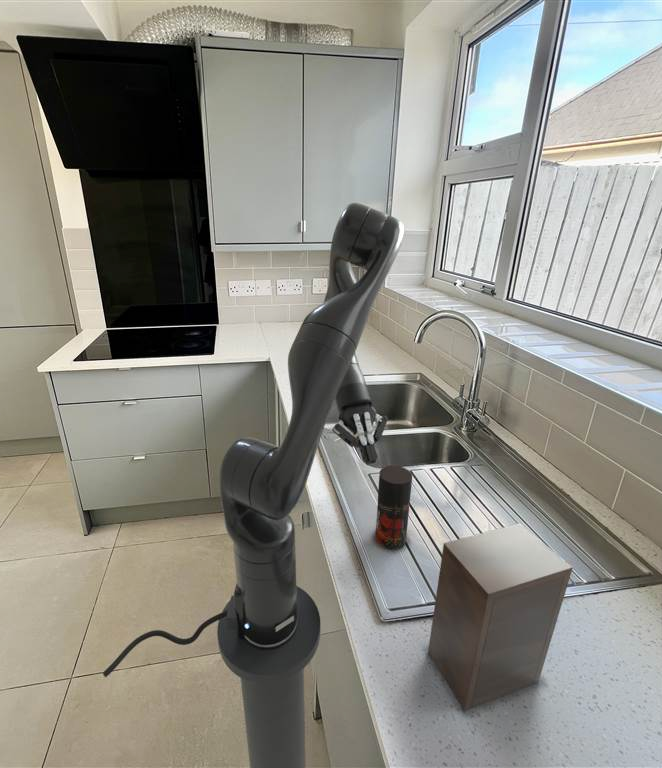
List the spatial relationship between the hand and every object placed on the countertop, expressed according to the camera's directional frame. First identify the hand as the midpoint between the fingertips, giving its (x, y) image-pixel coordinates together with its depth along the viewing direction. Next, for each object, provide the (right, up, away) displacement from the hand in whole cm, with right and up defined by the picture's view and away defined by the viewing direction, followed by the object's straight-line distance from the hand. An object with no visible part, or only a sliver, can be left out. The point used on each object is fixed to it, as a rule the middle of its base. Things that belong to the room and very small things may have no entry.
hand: (371, 463), depth 84 cm
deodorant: (+3, -14, -4) cm, 15 cm away
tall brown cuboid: (+11, -23, -27) cm, 37 cm away
